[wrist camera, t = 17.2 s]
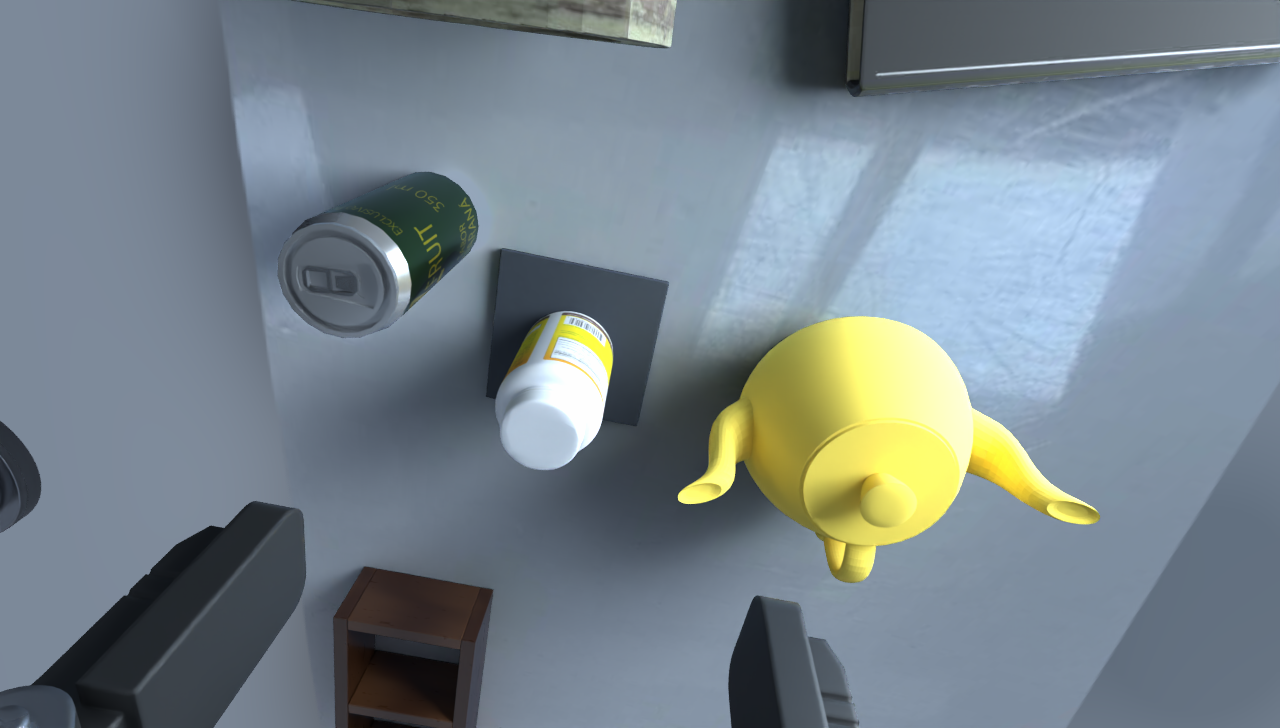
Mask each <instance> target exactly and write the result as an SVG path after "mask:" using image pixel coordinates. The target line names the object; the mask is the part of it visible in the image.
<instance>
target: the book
mask: <svg viewBox="0 0 1280 728" xmlns="http://www.w3.org/2000/svg"><path fill="white" fill-rule="evenodd" d="M1270 63H1280V0H849V18H848V37H847V55H846V74H845V84H846V87H847V89H848V91H849V93H850V94H851V95H852V96H854V97H860V96H872V95H885V94H897V93H910V92H922V91H934V90H947V89H959V88H972V87H984V86H997V85H1009V84H1022V83H1034V82H1046V81H1059V80H1071V79H1084V78H1096V77H1109V76H1121V75H1133V74H1146V73H1158V72H1171V71H1183V70H1196V69H1208V68H1220V67H1233V66H1245V65H1258V64H1270Z"/></svg>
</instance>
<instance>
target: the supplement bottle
mask: <svg viewBox="0 0 1280 728" xmlns="http://www.w3.org/2000/svg"><path fill="white" fill-rule="evenodd" d="M612 364H613V347H612V343H611V341H610V338H609V336H608V334H607V333H606V331H605V330H604V329H603V327H602V326H601V325H600V324H599V323H597V322H596V321H595V320H593V319H592V318H590V317H588V316H586V315H584V314H581V313H577V312H572V311H561V312H555V313H552V314H549V315H547V316H545V317H543V318H541V319H540V320H539V321H537V322H536V323H535V324H534V325H533V327H532V328H531V329H530V330H529V332H528V334H527V336H526V337H525V339H524V341H523V343H522V345H521V347H520V349H519V351H518V353H517V355H516V357H515V359H514V361H513V363H512V365H511V367H510V368H509V370H508V372H507V374H506V376H505V378H504V380H503V382H502V384H501V386H500V387H499V390H498V393H497V396H496V403H495V410H496V416H497V420H498V423H499V425H500V439H501V442H502V445H503V447H504V449H505V450H506V452H507V453H508V454H509V455H510V456H511V457H512V458H513V459H514V460H515V461H517V462H518V463H520V464H521V465H524V466H526V467H528V468H532V469H536V470H552V469H556V468H559V467H561V466H564V465H565V464H567V463H568V462H570V461H571V460H572V459H573V458H574V456H575V455H576V453H577V452H578V451H580V450H582V449H583V448H584V447H586V446H587V445H588V444H589V443H590V442H591V441H592V440H593V439H594V437H595V436H596V434H597V432H598V430H599V428H600V425H601V422H602V418H603V412H604V407H605V401H606V396H607V391H608V385H609V380H610V375H611V369H612Z"/></svg>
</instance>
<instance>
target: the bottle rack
mask: <svg viewBox="0 0 1280 728" xmlns="http://www.w3.org/2000/svg"><path fill="white" fill-rule="evenodd" d="M492 597H493V590H492V589H486V588H480V587H475V586H469V585H464V584H458V583H453V582H447V581H442V580H436V579H431V578H425V577H420V576H414V575H409V574H403V573H398V572H392V571H387V570H381V569H375V568H370V567H364V568H363V570H362V571H361V573H360V574H359V576H358V578H357V579H356V581H355V583H354V584H353V586H352V588H351V589H350V591H349V592H348V594H347V596H346V597H345V599H344V601H343V602H342V604H341V605H340V607H339V609H338V610H337V612H336V614H335V615H334V617H333V629H334V677H335V725H336V728H417V727H412V726H406V725H400V724H394V723H389V722H383V721H377V720H374V717H377V718H383V719H388V720H394V721H400V722H406V723H411V724H417V725H423V726H429V727H435V728H476V723H477V715H478V707H479V699H480V691H481V684H482V676H483V668H484V660H485V652H486V644H487V636H488V628H489V621H490V613H491V605H492ZM375 635H381V636H386V637H392V638H398V639H403V640H409V641H414V642H420V643H426V644H431V645H437V646H442V647H448V648H454V649H460V659H459V665H457V664H451V663H446V662H440V661H434V660H429V659H423V658H418V657H412V656H406V655H401V654H395V653H389V652H384V651H378V650H376V651H375Z"/></svg>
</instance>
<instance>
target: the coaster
mask: <svg viewBox="0 0 1280 728" xmlns="http://www.w3.org/2000/svg"><path fill="white" fill-rule="evenodd" d="M668 286H669V282H667V281H662V280H657V279H652V278H647V277H642V276H637V275H633V274H628V273H623V272H618V271H613V270H608V269H603V268H598V267H593V266H588V265H583V264H578V263H573V262H568V261H564V260H559V259H554V258H549V257H544V256H539V255H534V254H529V253H524V252H519V251H514V250H509V249H504V248H502V250H501V256H500V265H499V275H498V285H497V295H496V305H495V314H494V324H493V334H492V344H491V353H490V363H489V373H488V383H487V393H486V397H488V398H494V399H496V396H497V393H498V390H499V387H500V386H501V384H502V382H503V380H504V378H505V376H506V374H507V372H508V370H509V368H510V367H511V365H512V363H513V361H514V359H515V357H516V355H517V353H518V351H519V349H520V347H521V345H522V343H523V341H524V339H525V337H526V336H527V334H528V332H529V330H530V329H531V328H532V327H533V325H534V324H535V323H536V322H537V321H539V320H540V319H541V318H543V317H545V316H547V315H549V314H552V313H555V312H561V311H572V312H577V313H581V314H584V315H586V316H588V317H590V318H592V319H593V320H595V321H596V322H597V323H599V324H600V325H601V326H602V327H603V329H604V330H605V331H606V333H607V334H608V336H609V338H610V341H611V343H612V347H613V364H612V369H611V375H610V380H609V385H608V391H607V396H606V401H605V407H604V412H603V418H602V420H607V421H612V422H617V423H623V424H628V425H633V426H637V423H638V419H639V414H640V410H641V406H642V401H643V397H644V392H645V388H646V383H647V379H648V374H649V370H650V366H651V361H652V357H653V352H654V348H655V343H656V339H657V335H658V330H659V326H660V321H661V317H662V312H663V308H664V303H665V299H666V295H667V290H668Z"/></svg>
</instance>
